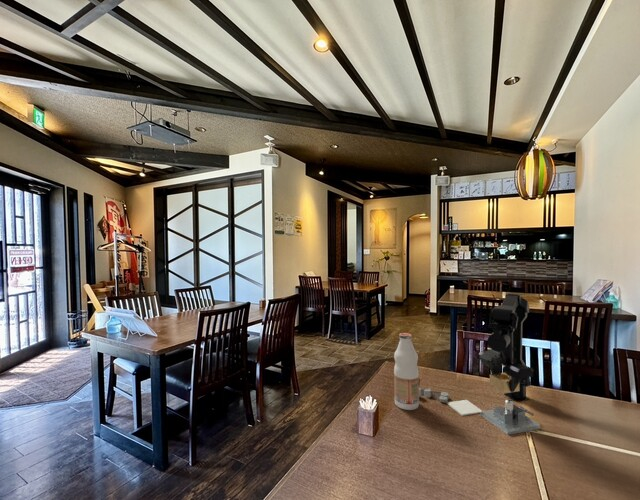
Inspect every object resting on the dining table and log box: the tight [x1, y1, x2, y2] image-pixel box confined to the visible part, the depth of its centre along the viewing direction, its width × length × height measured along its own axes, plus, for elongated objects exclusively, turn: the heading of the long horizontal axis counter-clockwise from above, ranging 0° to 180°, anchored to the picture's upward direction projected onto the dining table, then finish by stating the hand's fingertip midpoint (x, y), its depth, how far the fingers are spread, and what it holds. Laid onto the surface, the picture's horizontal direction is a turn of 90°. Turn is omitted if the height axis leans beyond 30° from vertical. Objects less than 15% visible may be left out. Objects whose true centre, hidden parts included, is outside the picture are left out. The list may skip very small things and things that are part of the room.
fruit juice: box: [393, 332, 420, 411], centre depth 122 cm, size 9×9×28 cm
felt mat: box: [446, 399, 483, 417], centre depth 118 cm, size 9×9×1 cm
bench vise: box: [480, 398, 541, 436], centre depth 109 cm, size 14×12×8 cm
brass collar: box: [489, 372, 520, 394], centre depth 109 cm, size 6×6×4 cm
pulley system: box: [419, 387, 450, 404], centre depth 134 cm, size 27×5×15 cm
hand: (504, 387), depth 109 cm, fingers closed on brass collar, 6 cm apart
